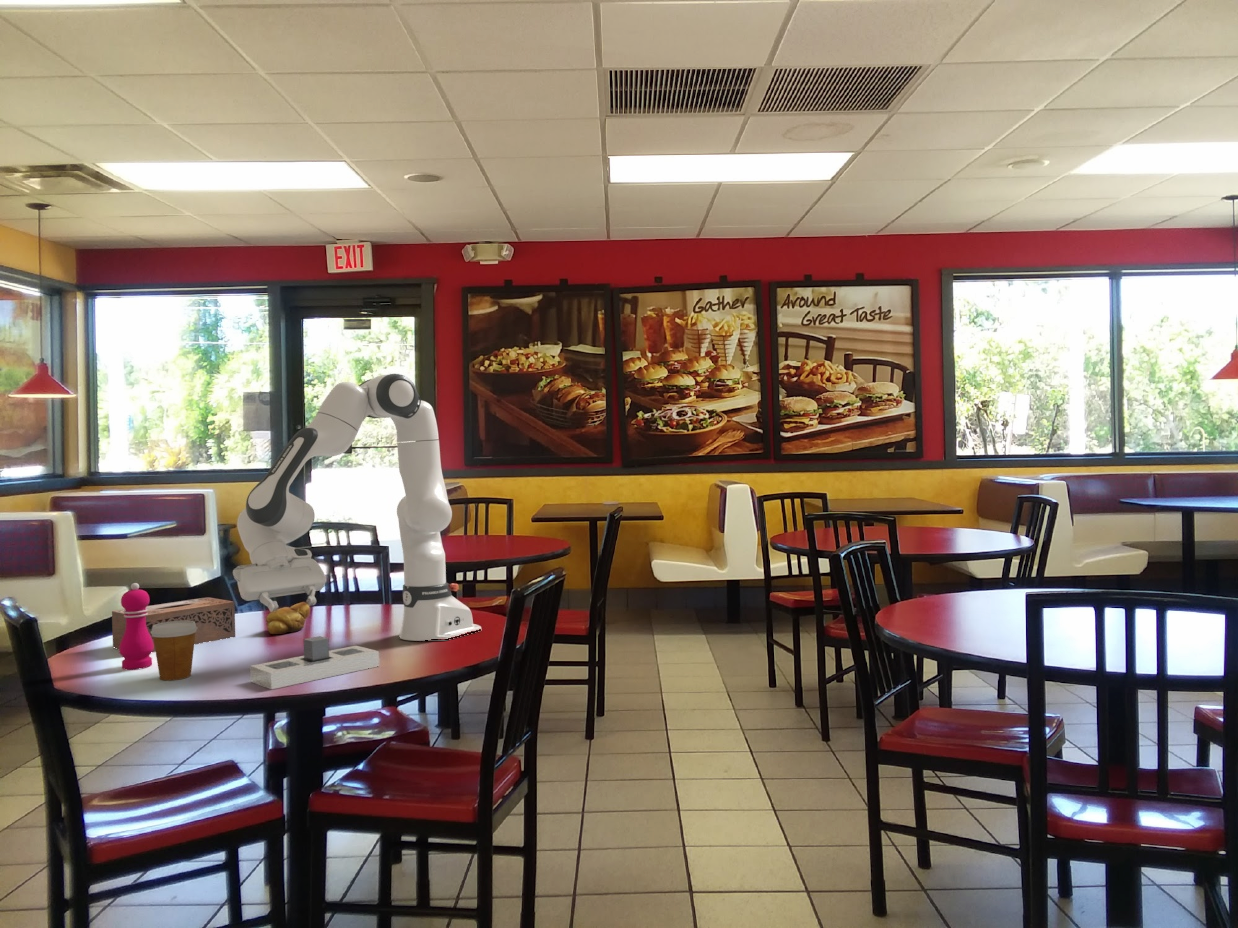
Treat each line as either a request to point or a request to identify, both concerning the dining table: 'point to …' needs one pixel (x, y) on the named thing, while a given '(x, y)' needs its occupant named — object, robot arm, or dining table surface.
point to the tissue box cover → (186, 618)
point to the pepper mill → (136, 630)
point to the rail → (313, 667)
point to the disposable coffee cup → (174, 648)
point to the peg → (316, 649)
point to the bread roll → (288, 618)
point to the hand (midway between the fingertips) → (294, 606)
